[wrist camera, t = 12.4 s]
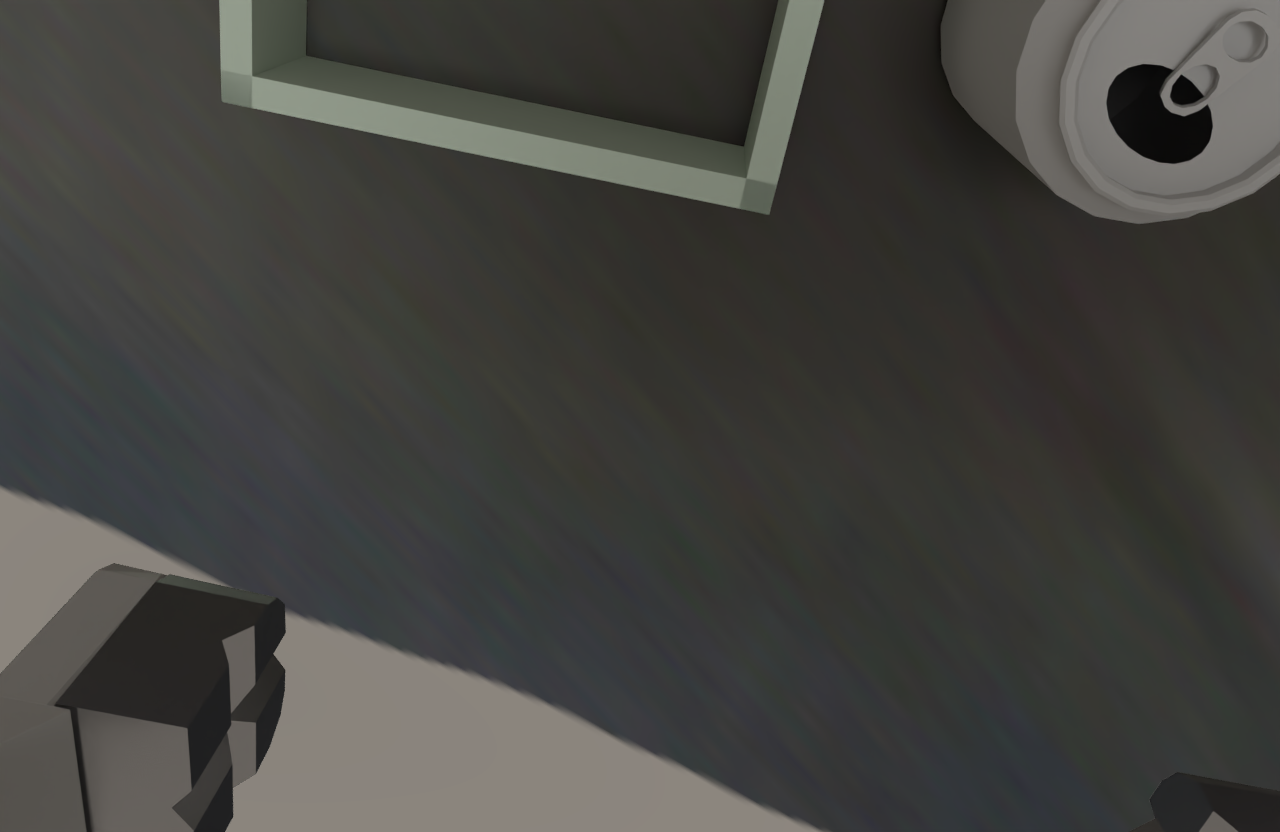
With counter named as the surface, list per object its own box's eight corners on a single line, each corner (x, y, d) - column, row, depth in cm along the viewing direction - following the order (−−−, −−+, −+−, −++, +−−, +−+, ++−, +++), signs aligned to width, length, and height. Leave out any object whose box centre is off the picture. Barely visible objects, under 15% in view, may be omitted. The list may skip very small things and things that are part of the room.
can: (887, 48, 33) (964, 119, 23) (1055, -160, 30) (1235, -190, 19) (1044, 179, 35) (1184, 303, 24) (1219, -4, 32) (1467, 46, 21)
